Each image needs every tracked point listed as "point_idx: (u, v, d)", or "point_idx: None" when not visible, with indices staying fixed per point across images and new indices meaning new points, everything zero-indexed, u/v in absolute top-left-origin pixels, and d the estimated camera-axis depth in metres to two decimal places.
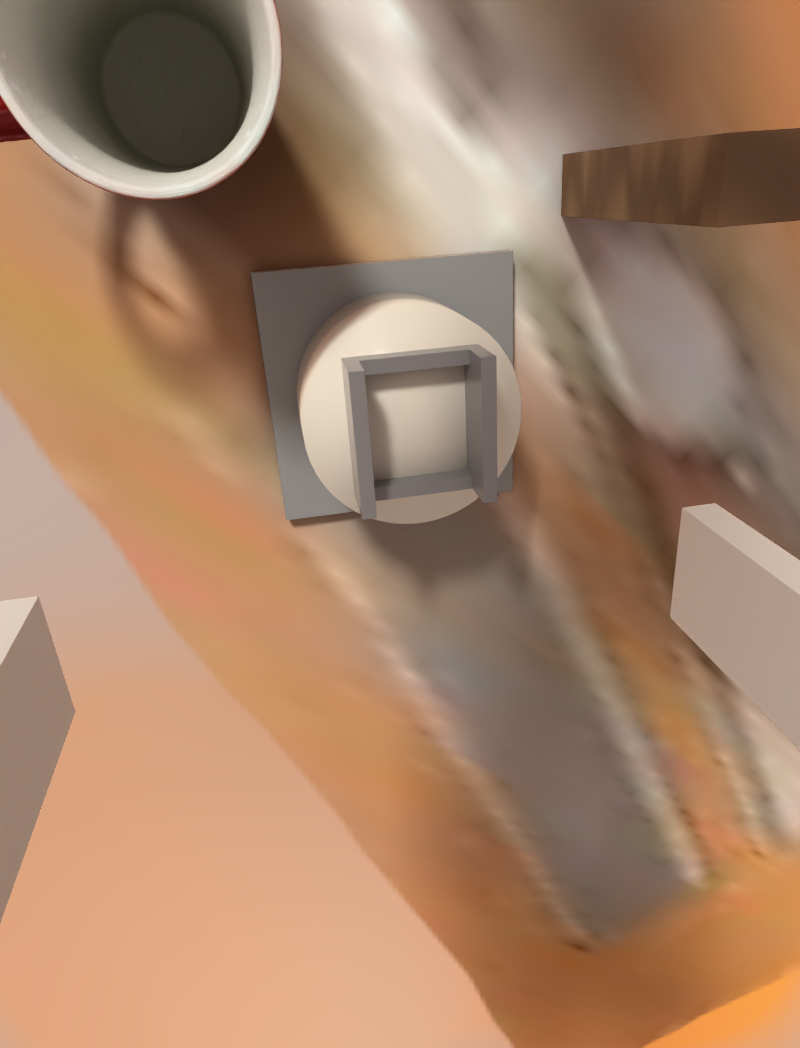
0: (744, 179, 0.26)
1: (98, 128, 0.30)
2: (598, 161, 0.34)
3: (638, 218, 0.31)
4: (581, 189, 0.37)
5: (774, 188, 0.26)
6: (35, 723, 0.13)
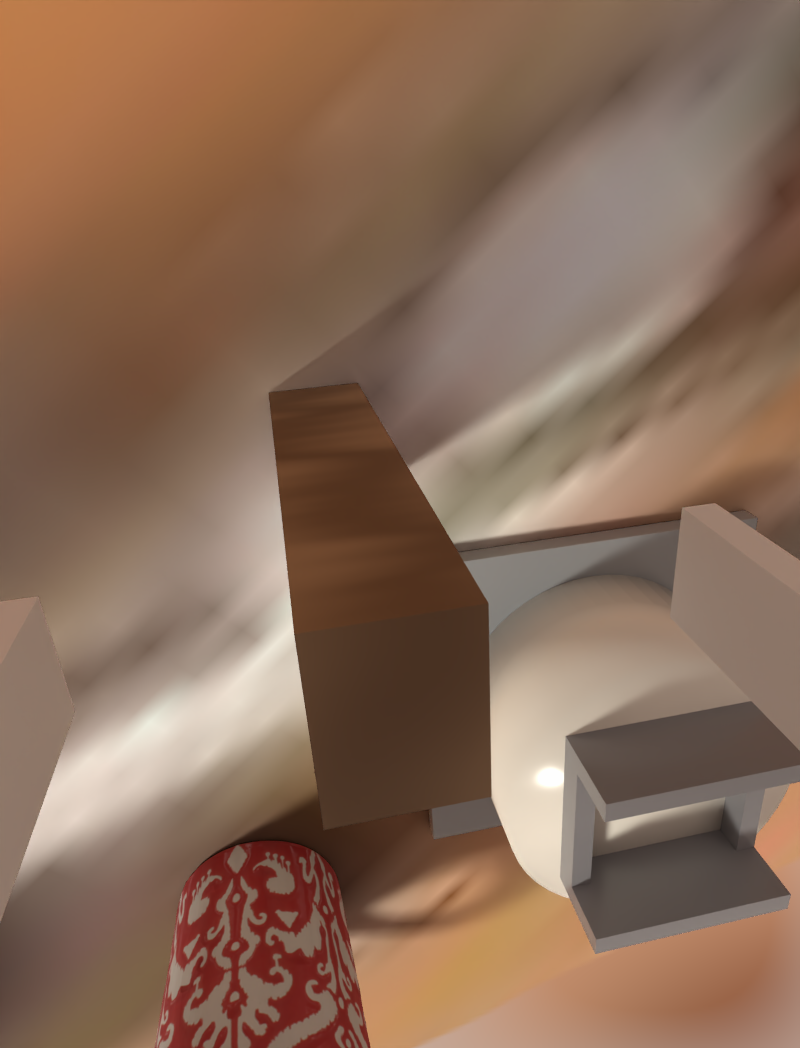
0: (406, 777, 0.12)
1: None
2: None
3: None
4: None
5: (422, 714, 0.12)
6: (35, 723, 0.13)
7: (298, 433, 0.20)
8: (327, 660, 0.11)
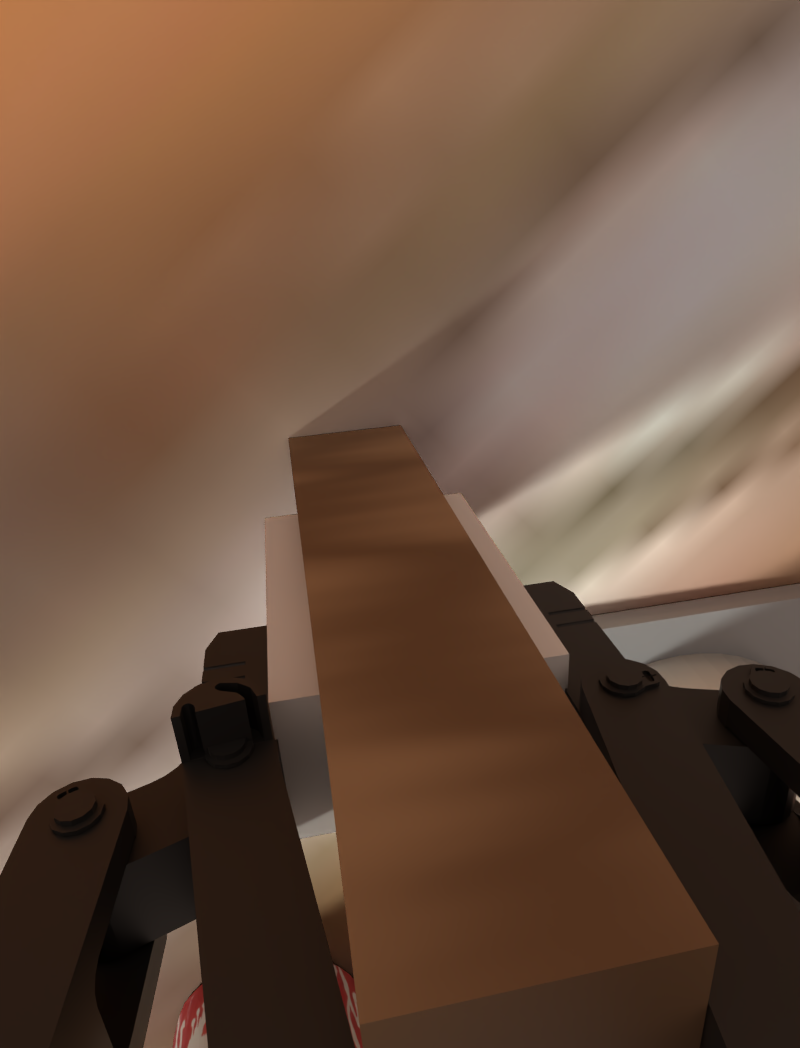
0: None
1: None
2: None
3: None
4: None
5: None
6: None
7: (330, 508, 0.15)
8: None
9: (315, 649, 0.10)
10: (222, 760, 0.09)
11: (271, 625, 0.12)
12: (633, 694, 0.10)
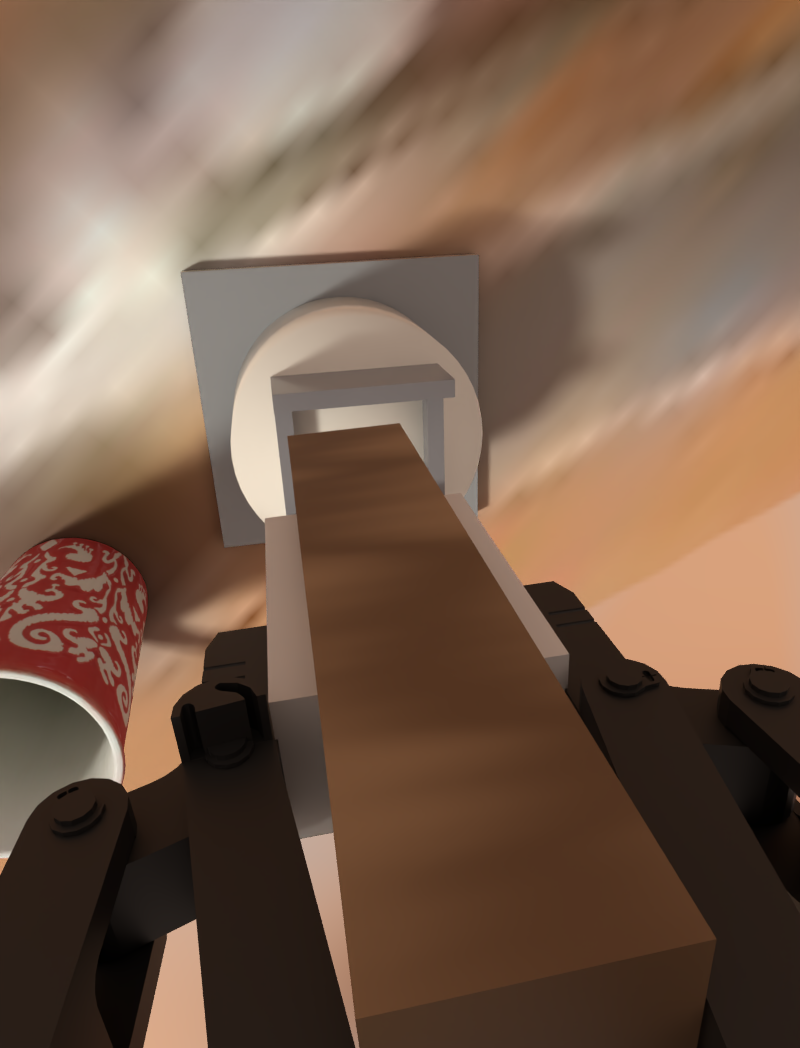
0: None
1: None
2: None
3: None
4: None
5: None
6: None
7: (329, 505, 0.15)
8: None
9: (313, 645, 0.10)
10: (222, 760, 0.09)
11: (271, 625, 0.12)
12: (633, 694, 0.10)
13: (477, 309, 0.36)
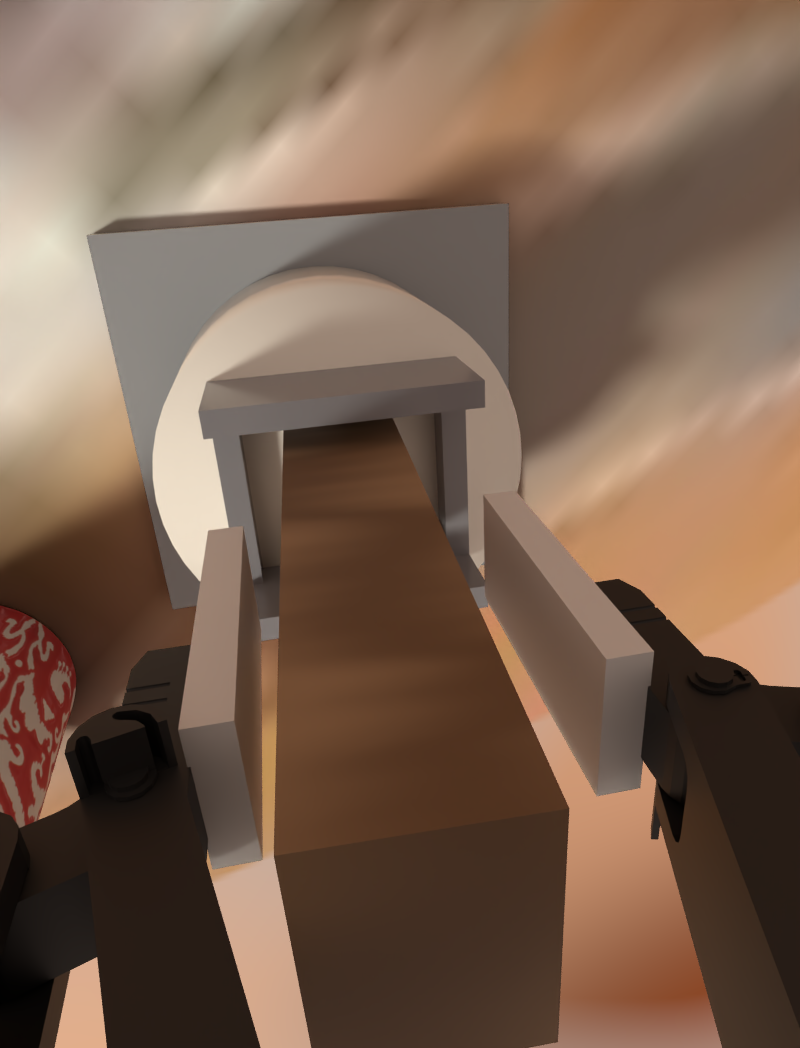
0: (437, 1023, 0.09)
1: None
2: None
3: None
4: None
5: (463, 950, 0.08)
6: (253, 629, 0.15)
7: (312, 479, 0.16)
8: (323, 887, 0.07)
9: (280, 592, 0.12)
10: (123, 792, 0.09)
11: (195, 645, 0.12)
12: (723, 692, 0.10)
13: (507, 280, 0.26)
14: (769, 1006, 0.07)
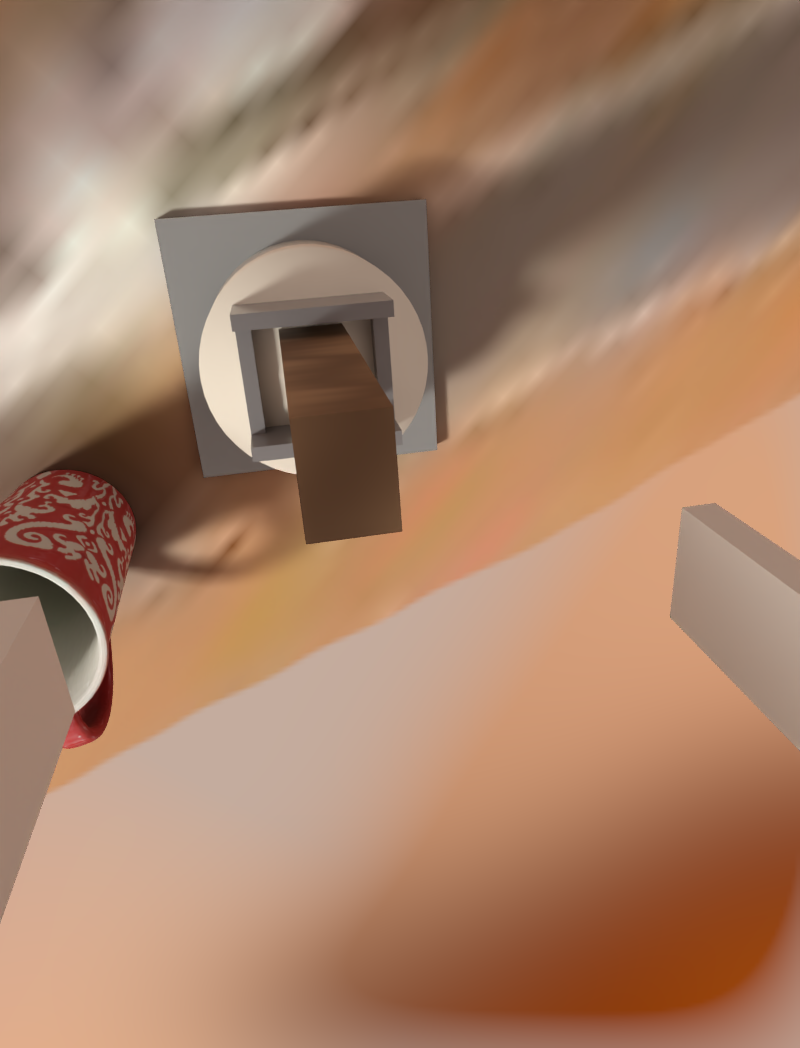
0: (352, 513, 0.22)
1: None
2: None
3: None
4: None
5: (359, 473, 0.22)
6: (35, 723, 0.13)
7: (297, 348, 0.30)
8: (306, 435, 0.21)
9: (284, 377, 0.25)
10: None
11: None
12: None
13: (427, 250, 0.39)
14: None
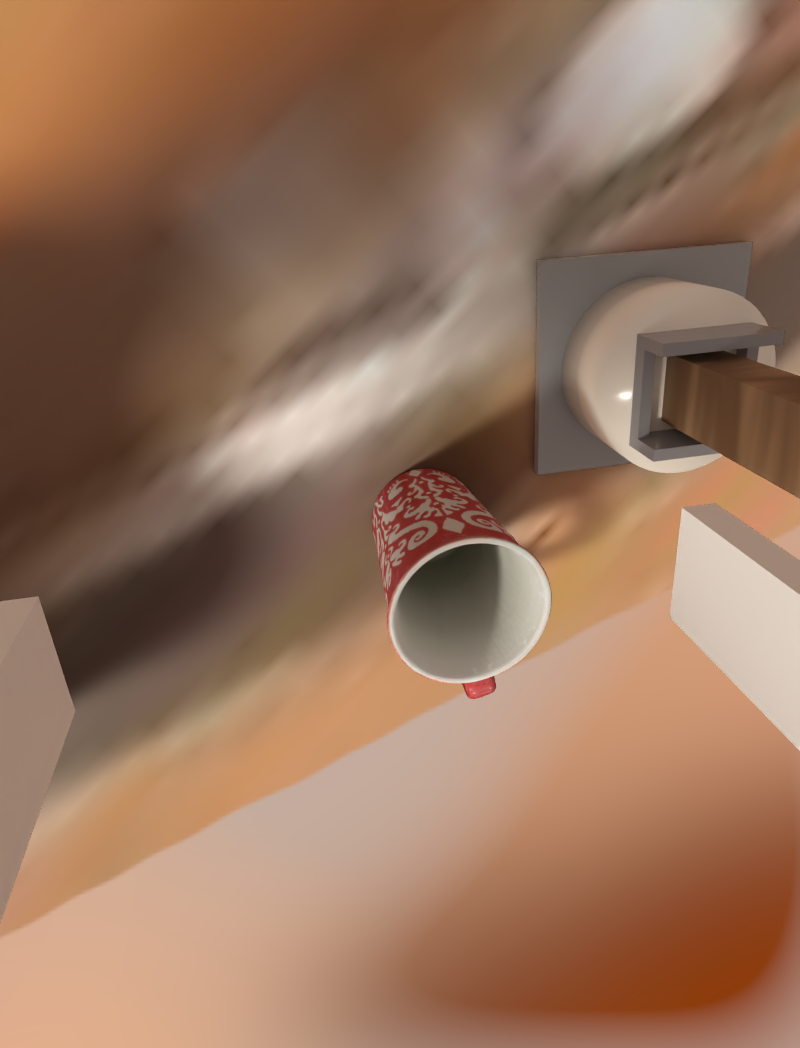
0: None
1: (464, 584, 0.48)
2: None
3: None
4: None
5: None
6: (35, 723, 0.13)
7: (728, 370, 0.37)
8: None
9: (777, 396, 0.33)
10: None
11: None
12: None
13: (746, 284, 0.47)
14: None
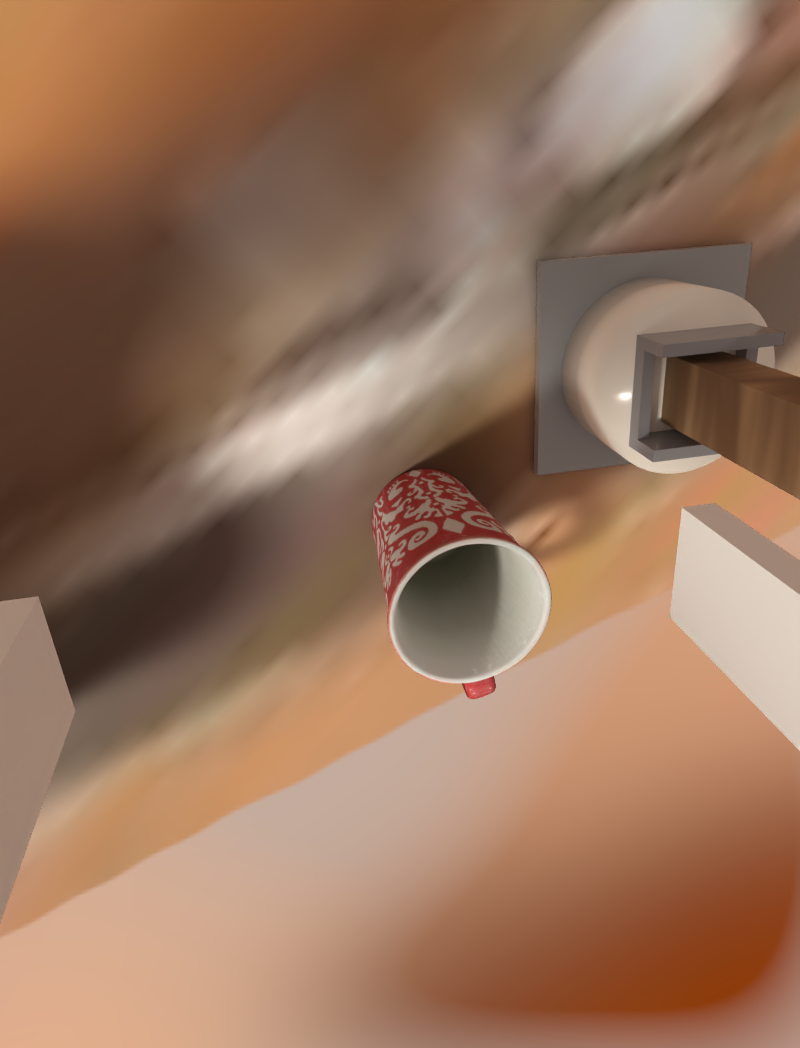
0: None
1: (464, 584, 0.48)
2: None
3: None
4: None
5: None
6: (35, 723, 0.13)
7: (727, 371, 0.37)
8: None
9: (776, 397, 0.33)
10: None
11: None
12: None
13: (746, 285, 0.47)
14: None
